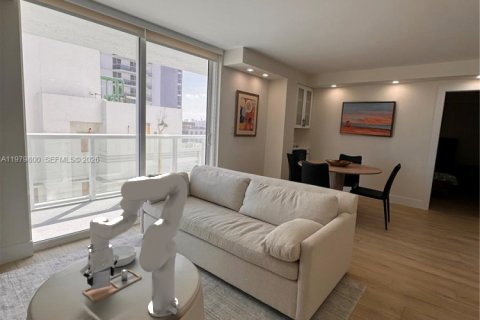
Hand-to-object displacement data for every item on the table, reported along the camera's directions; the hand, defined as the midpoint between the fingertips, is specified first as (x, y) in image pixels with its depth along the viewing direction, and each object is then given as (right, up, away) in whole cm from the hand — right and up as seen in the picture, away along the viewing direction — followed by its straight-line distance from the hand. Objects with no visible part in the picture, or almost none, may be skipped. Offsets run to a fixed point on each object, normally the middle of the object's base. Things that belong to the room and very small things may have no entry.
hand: (101, 279), depth 117 cm
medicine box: (-1, -3, +1) cm, 3 cm away
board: (+3, -6, +5) cm, 9 cm away
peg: (+6, -5, +10) cm, 13 cm away
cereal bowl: (-4, -4, +27) cm, 28 cm away
